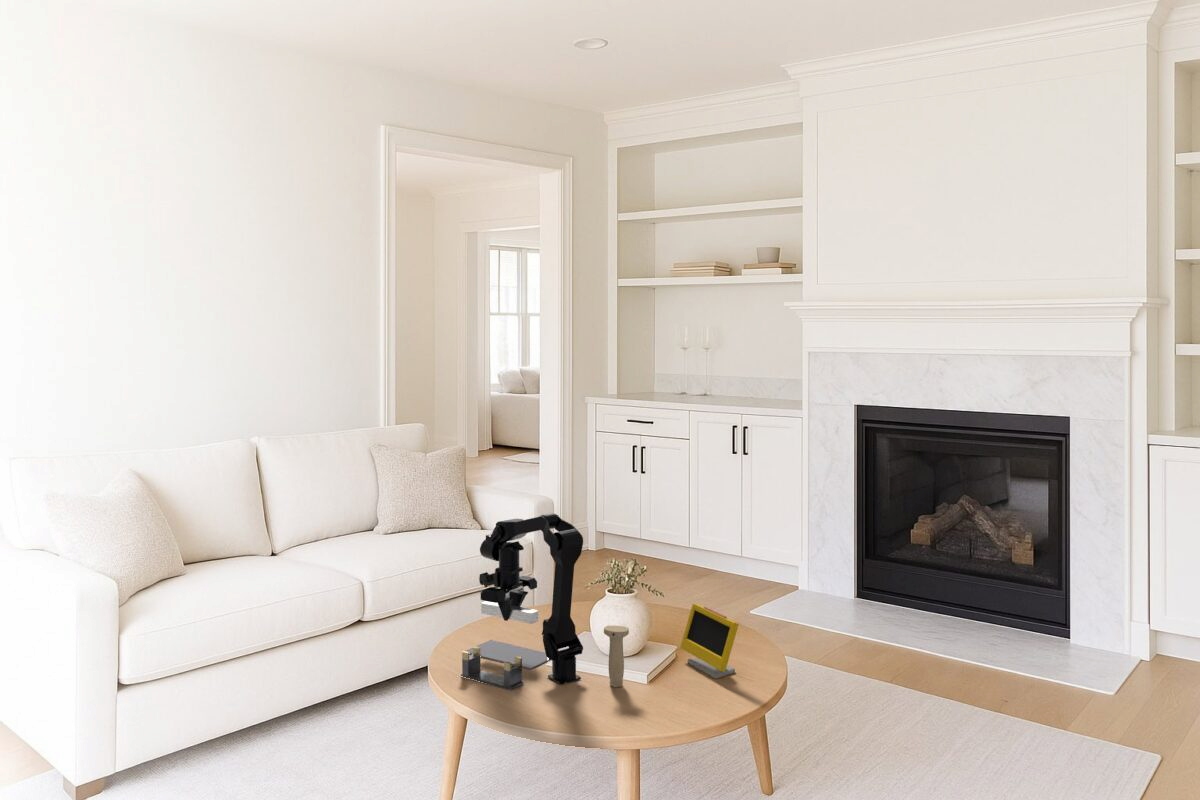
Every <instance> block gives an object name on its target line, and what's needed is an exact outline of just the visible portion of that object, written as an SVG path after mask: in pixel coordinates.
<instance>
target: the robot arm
mask: <svg viewBox="0 0 1200 800" xmlns="http://www.w3.org/2000/svg"><path fill="white" fill-rule="evenodd" d="M553 529H554V530H556V531H555V532H554V533H553V532H552V530H553ZM539 531H541V532H542V535H543V541H544V542H545V544H547V546H549V554H550V556H551V558H552V560H553V561H554V574H553V575H554V577H553V579H554V580H553V592H552V602H551V603H552V604H551V606H552V607H551V615H550V617H548V618H546V619H543V621H542V631H541V636H542V642H543V647H544V652H545V653H546V657H548V658H549V661H551V665H552V667H551V674H548V675H547V678H548V679H550V680H551V681H552V680H553V681H554V682H556V683H558V684H559V685H564V684H567V683H572V682H574V681H579V680H581V678H582V677H581V676H580V675H577V656H578V655H582V654H583V650H584V646H583V644H582V642H581V641H580V638H579V637H578V635H577V634H576V624H575V623H574V620H573V619H572V617H571V616H572V615H571V612H572V602H573V601H572V599H573V598H572V597H573V587H574V586H573V585H574V575H575V574H574V573H575V564H576V562H577V561H578V559H579V558H580V556H581V554H582V551H583V546H584V537H583V535H582V534H581V532H580V531H579V530H578V529H577V528H576V527H575V526H574V525H573V524H572V523H569V522H568V521H566V520H564V519H562V518H561V517H560V516H559V515H558V514H557V513H554V512H553V513H551V512H550V513H545V514H541V515H540V516H537V517H531V518H527V519H523V518H512V519H506V520H500V521H497V522H496V523H495V527H494V529H493V530H492V532H491V534H486V535H485V539H484V540H483V541H482V542H481V544H480V547H479V552H480V555H481V556H482V557H484V558H485V559H488V560H492V561H496V562H498V567H496V568H495V569H494V572H492V573H489V572H483V573H480V574H479V577H478V579H479V583H480V586H484V588H485V589H482V591H480V601H483V602H485V601H488V602H493V603H498V606H499V608H500V610H501V613H502V616H503V618H502V619H503V621H506V622H507V621H508V620H509V619H508V618H509V614H510V610H511V605H513V606H518V607H522V604H523V602H524V600H525V598H526V596H527V595H528V594H529V591H525V588H524V587H528V589H529V590H531V591H532V590H534V589H537V588H538V581H537V579H536V578H535V577H532V576H525V575H521V576H520V572H523V571H524V570H523V566H520V551H524V549H525V548H524V546H523V545H522V543H520V541H516V540H520V539H522V538H524V537H525V536H526V535H527V534H529V533H534V532H539Z"/></svg>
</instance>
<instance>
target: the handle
mask: <svg viewBox="0 0 1200 800" xmlns="http://www.w3.org/2000/svg"><path fill="white" fill-rule="evenodd" d="M629 633H630V630H629V627H627V626H623V625H615V624H613V625H606V626H605V627H603V634H604V635H605V636H607V637H609V650H608V651H609V653H608V676H609V685H610V686H611V687H613V688H621V687H622V686H623V684H624V680H623V679H624V675H625V673H624V672H625V659H624V657H625V655H624V638H625V637H627V636H628V635H629Z"/></svg>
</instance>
